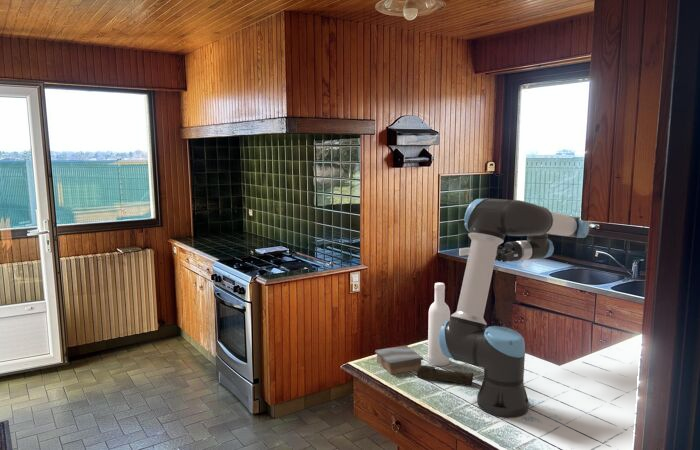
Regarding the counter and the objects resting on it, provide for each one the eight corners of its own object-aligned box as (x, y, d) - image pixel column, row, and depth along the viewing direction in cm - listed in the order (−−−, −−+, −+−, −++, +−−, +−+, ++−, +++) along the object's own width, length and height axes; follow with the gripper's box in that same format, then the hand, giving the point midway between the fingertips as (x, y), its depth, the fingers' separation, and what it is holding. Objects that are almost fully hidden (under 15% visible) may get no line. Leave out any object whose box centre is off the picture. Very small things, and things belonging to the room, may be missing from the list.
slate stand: (422, 369, 182) (423, 357, 181) (390, 375, 177) (390, 363, 177) (406, 356, 194) (406, 345, 193) (375, 361, 189) (375, 350, 189)
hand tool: (473, 382, 172) (473, 369, 171) (471, 387, 168) (472, 373, 167) (418, 374, 178) (418, 362, 178) (415, 379, 175) (416, 366, 174)
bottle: (423, 362, 188) (424, 283, 185) (436, 356, 194) (437, 279, 190) (440, 368, 183) (441, 287, 179) (453, 362, 188) (455, 283, 184)
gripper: (539, 266, 184) (490, 272, 177) (496, 254, 207) (451, 259, 200) (540, 246, 183) (491, 251, 176) (496, 236, 206) (451, 240, 199)
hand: (469, 255), depth 188 cm, fingers open, 13 cm apart
